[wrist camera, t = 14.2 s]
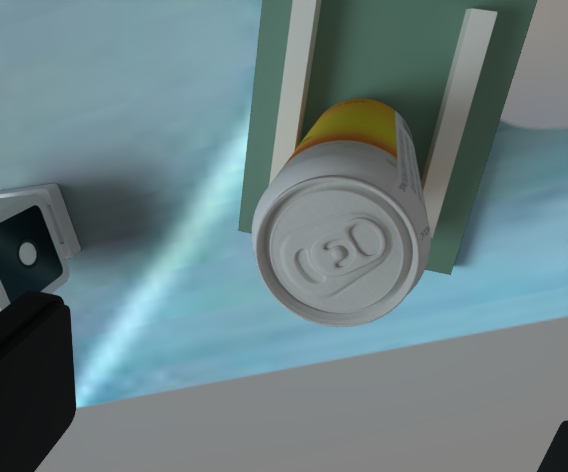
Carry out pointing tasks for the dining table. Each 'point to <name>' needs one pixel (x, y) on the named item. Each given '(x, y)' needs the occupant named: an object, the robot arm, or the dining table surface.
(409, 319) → the dining table surface
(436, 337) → the dining table surface
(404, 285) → the beer can
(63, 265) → the security camera
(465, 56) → the board
